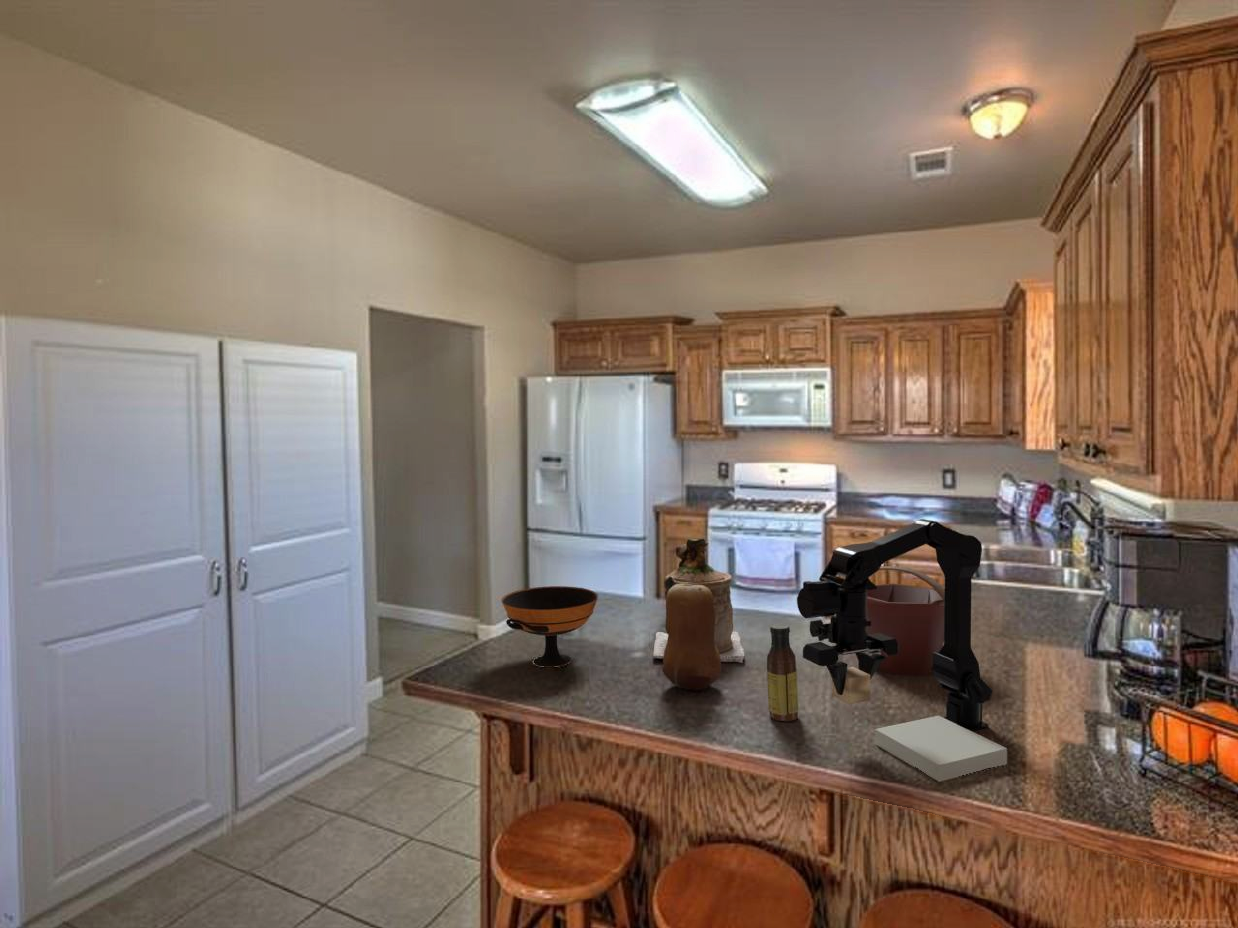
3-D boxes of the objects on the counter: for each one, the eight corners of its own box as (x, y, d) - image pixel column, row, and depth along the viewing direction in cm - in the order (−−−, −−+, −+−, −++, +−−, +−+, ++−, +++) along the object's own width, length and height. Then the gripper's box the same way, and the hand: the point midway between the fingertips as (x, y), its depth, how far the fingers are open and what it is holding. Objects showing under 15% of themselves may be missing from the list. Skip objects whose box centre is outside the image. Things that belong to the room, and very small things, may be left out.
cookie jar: (739, 636, 210) (738, 529, 209) (746, 665, 186) (745, 543, 184) (655, 636, 213) (654, 529, 211) (651, 663, 188) (649, 543, 186)
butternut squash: (704, 674, 179) (703, 576, 178) (731, 692, 167) (730, 587, 165) (653, 682, 174) (652, 581, 173) (677, 702, 162) (676, 593, 160)
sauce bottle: (793, 710, 156) (793, 620, 155) (802, 722, 149) (801, 629, 148) (764, 711, 156) (763, 621, 154) (771, 723, 149) (770, 630, 148)
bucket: (835, 657, 190) (835, 564, 189) (894, 644, 200) (894, 556, 199) (910, 686, 168) (911, 582, 167) (972, 670, 178) (973, 571, 177)
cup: (560, 692, 169) (558, 618, 168) (471, 678, 180) (469, 609, 179) (622, 647, 202) (621, 586, 201) (544, 638, 212) (543, 579, 211)
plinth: (938, 729, 145) (938, 715, 145) (1006, 764, 130) (1007, 748, 130) (875, 743, 139) (875, 728, 139) (939, 781, 124) (939, 764, 124)
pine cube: (852, 691, 142) (852, 666, 142) (870, 700, 137) (870, 674, 137) (832, 695, 140) (832, 670, 140) (849, 704, 136) (849, 678, 135)
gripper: (861, 598, 149) (861, 672, 150) (786, 608, 142) (786, 685, 143) (900, 611, 138) (900, 690, 139) (820, 622, 132) (821, 705, 133)
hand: (851, 692), depth 139 cm, fingers closed on pine cube, 5 cm apart
